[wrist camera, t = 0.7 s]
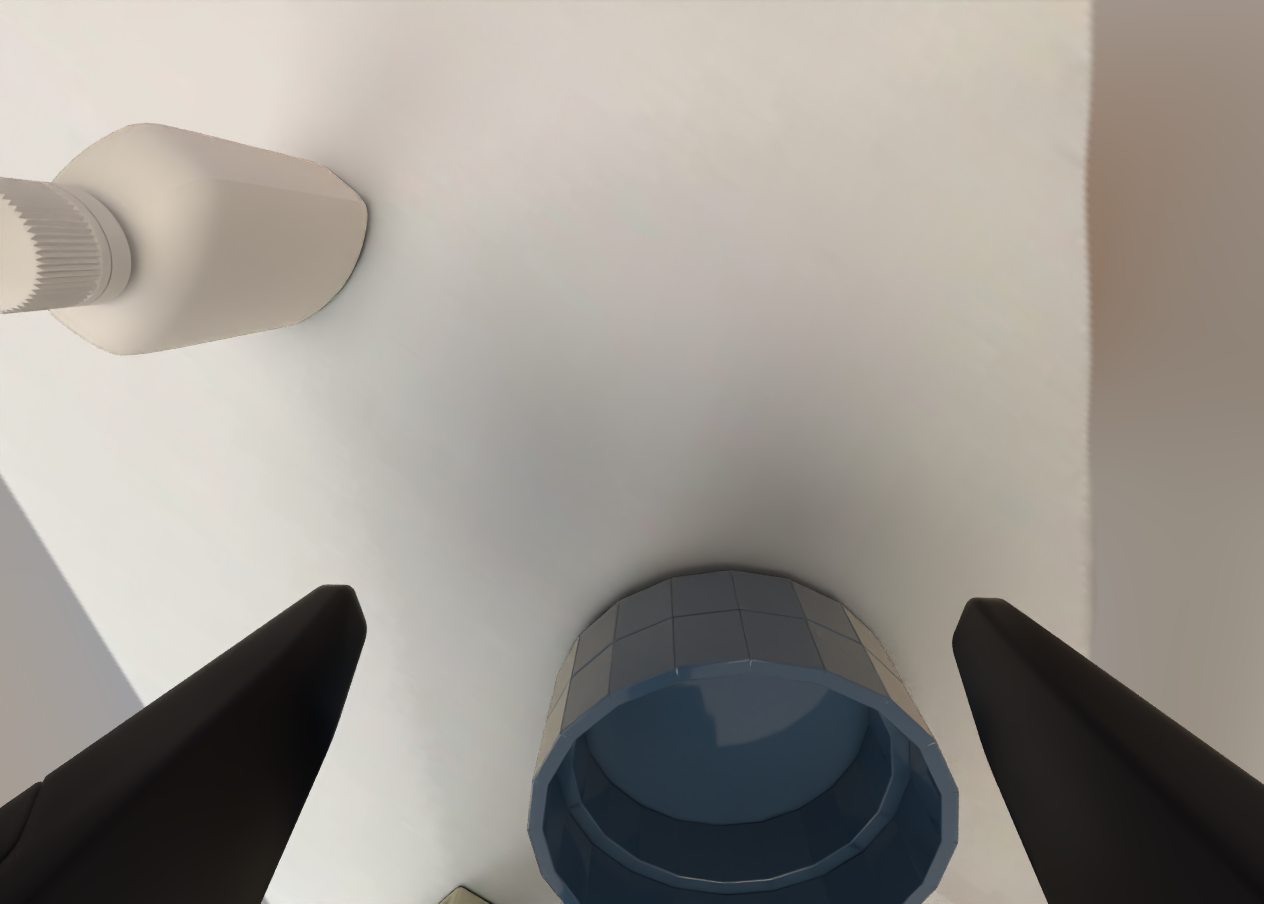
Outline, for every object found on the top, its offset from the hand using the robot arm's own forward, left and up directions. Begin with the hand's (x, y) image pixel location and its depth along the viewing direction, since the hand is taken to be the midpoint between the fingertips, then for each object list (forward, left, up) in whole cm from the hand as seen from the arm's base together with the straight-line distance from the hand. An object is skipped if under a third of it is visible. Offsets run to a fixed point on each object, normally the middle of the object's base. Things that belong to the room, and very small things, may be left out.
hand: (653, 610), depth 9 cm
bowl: (-14, -5, -14) cm, 21 cm away
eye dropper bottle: (+3, +13, -14) cm, 19 cm away
